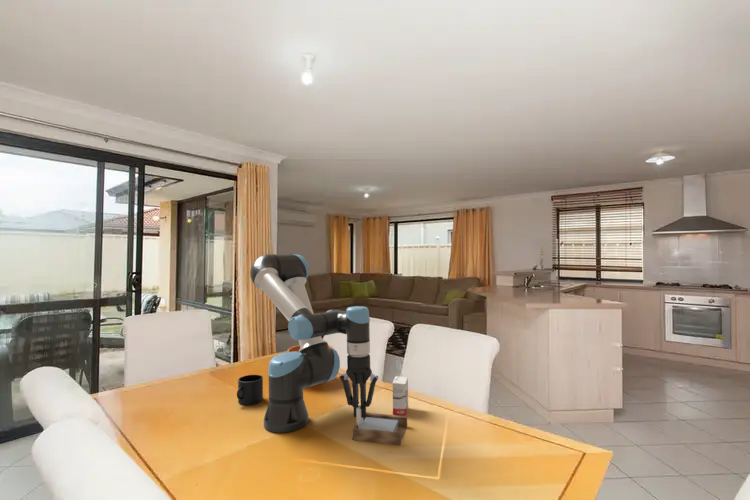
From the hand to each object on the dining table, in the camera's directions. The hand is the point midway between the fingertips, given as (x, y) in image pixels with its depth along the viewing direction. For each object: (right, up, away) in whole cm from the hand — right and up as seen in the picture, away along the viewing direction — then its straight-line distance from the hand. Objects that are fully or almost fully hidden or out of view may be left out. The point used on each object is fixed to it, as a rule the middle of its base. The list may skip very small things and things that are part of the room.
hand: (360, 426), depth 123 cm
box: (+7, -2, -1) cm, 7 cm away
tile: (+6, -1, -1) cm, 6 cm away
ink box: (+14, -2, +16) cm, 22 cm away
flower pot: (-25, -3, +52) cm, 58 cm away
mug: (-46, -3, +27) cm, 53 cm away
